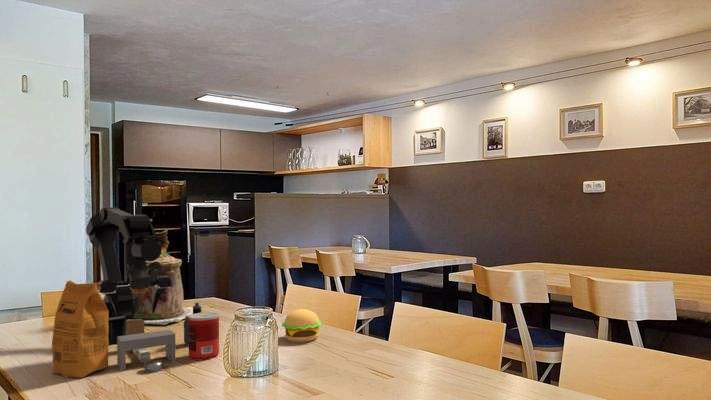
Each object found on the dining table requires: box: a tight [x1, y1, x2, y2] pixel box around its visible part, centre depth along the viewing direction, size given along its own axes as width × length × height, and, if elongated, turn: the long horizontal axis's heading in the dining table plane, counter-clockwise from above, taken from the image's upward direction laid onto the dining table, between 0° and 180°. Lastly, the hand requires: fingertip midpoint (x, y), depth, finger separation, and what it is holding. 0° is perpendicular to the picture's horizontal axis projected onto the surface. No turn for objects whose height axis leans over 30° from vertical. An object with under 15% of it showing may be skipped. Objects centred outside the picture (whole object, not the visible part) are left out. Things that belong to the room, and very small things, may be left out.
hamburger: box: [281, 308, 322, 343], centre depth 155 cm, size 12×12×9 cm
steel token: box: [143, 359, 163, 374], centre depth 126 cm, size 4×4×2 cm
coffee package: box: [51, 280, 110, 379], centre depth 125 cm, size 10×12×22 cm
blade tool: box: [126, 319, 151, 364], centre depth 139 cm, size 16×4×8 cm, turn 34°
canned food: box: [188, 311, 220, 361], centre depth 137 cm, size 8×8×11 cm
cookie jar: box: [127, 229, 193, 326], centre depth 186 cm, size 25×25×32 cm
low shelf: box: [116, 328, 176, 371], centre depth 132 cm, size 6×13×7 cm, turn 124°
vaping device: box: [183, 302, 202, 346], centre depth 149 cm, size 3×5×12 cm, turn 79°
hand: (135, 314), depth 144 cm, fingers open, 9 cm apart
